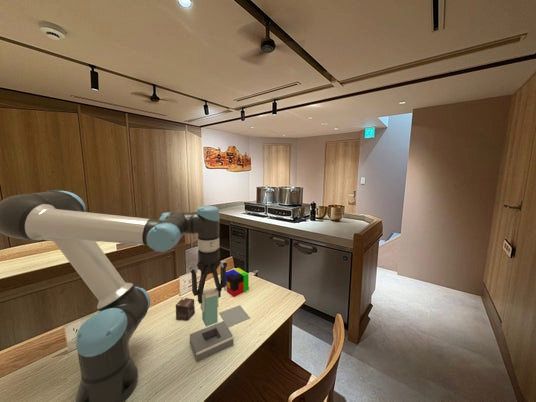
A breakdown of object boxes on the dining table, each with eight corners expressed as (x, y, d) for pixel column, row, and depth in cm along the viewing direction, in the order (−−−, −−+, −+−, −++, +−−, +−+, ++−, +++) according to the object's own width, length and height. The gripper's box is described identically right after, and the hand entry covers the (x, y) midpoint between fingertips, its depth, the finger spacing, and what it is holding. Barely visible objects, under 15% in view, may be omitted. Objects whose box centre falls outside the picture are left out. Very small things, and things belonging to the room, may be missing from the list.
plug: (205, 326, 78) (205, 296, 76) (202, 319, 81) (201, 290, 80) (217, 322, 80) (217, 292, 78) (213, 315, 84) (213, 287, 82)
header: (196, 363, 74) (196, 353, 74) (189, 343, 83) (189, 334, 82) (233, 346, 82) (233, 337, 81) (223, 329, 90) (223, 320, 90)
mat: (227, 328, 91) (227, 327, 91) (218, 314, 100) (218, 312, 100) (250, 319, 97) (250, 318, 97) (239, 306, 106) (239, 305, 106)
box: (187, 322, 94) (187, 307, 93) (175, 320, 96) (175, 305, 95) (195, 313, 100) (194, 298, 99) (183, 311, 102) (183, 297, 100)
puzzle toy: (223, 289, 121) (223, 273, 119) (238, 283, 127) (238, 267, 126) (233, 297, 113) (233, 279, 112) (248, 290, 120) (248, 273, 119)
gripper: (185, 257, 69) (187, 322, 72) (235, 247, 78) (235, 305, 82) (181, 249, 75) (183, 309, 78) (227, 241, 85) (227, 295, 88)
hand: (209, 307), depth 80 cm, fingers closed on plug, 4 cm apart
